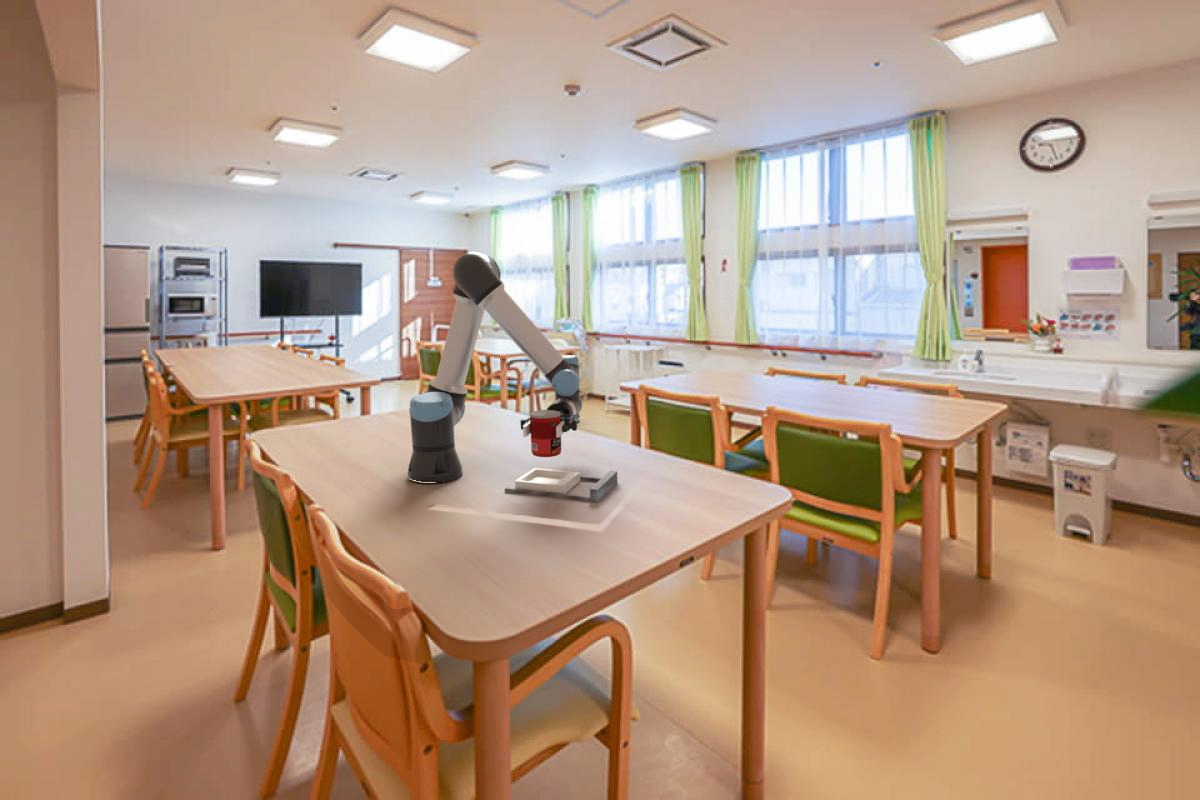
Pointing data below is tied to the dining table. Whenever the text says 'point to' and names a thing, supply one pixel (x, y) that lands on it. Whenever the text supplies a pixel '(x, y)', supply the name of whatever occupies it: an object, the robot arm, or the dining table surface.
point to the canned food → (545, 433)
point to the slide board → (595, 495)
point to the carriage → (548, 480)
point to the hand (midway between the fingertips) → (541, 431)
